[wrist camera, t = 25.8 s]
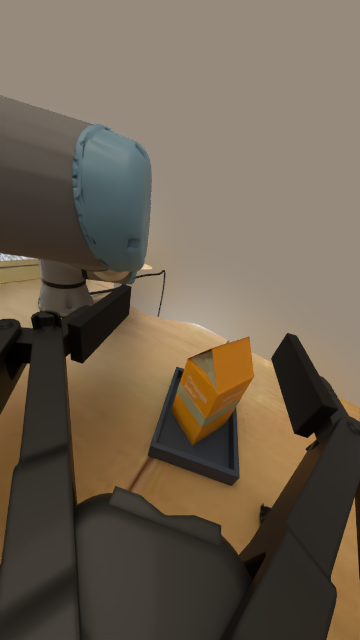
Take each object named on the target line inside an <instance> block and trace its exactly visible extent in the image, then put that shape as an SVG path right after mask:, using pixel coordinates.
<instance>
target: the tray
mask: <svg viewBox="0 0 360 640" xmlns="http://www.w3.org/2000/svg"><path fill="white" fill-rule="evenodd" d="M183 372H184V369H182V368H179V367H176V370H175V373H174V376H173V379H172V382H171V385H170V388H169V391H168V394H167V397H166V400H165V403H164V406H163V409H162V412H161V415H160V418H159V421H158V424H157V427H156V430H155V433H154V436H153V439H152V442H151V445H150V449H149V453H148V455H149V456H151V457H154V458H157V459H160V460H162V461H165V462H168V463H171V464H173V465H176V466H179V467H182V468H184V469H187V470H190V471H193V472H195V473H198V474H201V475H204V476H206V477H209V478H212V479H215V480H217V481H220V482H223V483H226V484H228V485H231V486H232V485H233V484H234V483H235V482H236V481H237V480H238V479H239V458H238V435H237V413H236V407H235V409H234V411H233V412H232V414H231V416H230V417H229V419H228V421H227V422H226V424H225V425H223V426H222V427H220V428H219V429H217V430H216V431H214V432H213V433H211V434H210V435H208V436H207V437H205V438H204V439H202V440H201V441H199V442H198V443H196V444H195V445H193V446H192V445H191V443H190V441H189V440H188V438H187V436H186V435H185V433H184V431H183V430H182V428H181V427H180V425H179V423H178V422H177V420H176V418H175V417H174V415H173V413H172V412H171V409H172V406H173V403H174V400H175V397H176V393H177V389H178V386H179V383H180V381H181V378H182V375H183Z"/></svg>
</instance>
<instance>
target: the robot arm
mask: <svg viewBox="0 0 360 640" xmlns="http://www.w3.org/2000/svg"><path fill="white" fill-rule="evenodd" d="M151 182H152V179H151V164H150V159H149V156H148V154H147V152H146V150H145V149H144V148H143V147H142V146H141V145H140V144H139V143H138V142H136V141H134V140H132V139H129V138H126V137H124V136H121V135H119V134H116V133H114V132H113V131H112V130H111V129H110V128H108V127H106V126H104V125H100V124H96V125H93V124H90V123H87V122H83V121H81V120H77V119H74V118H71V117H68V116H65V115H61V114H58V113H55V112H52V111H49V110H45V109H42V108H39V107H36V106H32V105H29V104H26V103H23V102H19V101H16V100H13V99H10V98H7V97H3V96H0V253H2V254H9V255H16V256H22V257H29V258H36V259H38V260H39V266H40V272H41V277H42V288H41V292H40V297H39V300H38V304H39V308H40V310H41V311H40V312H37V313H35V314H33V315H32V317H31V321H32V325H33V328H22V327H21V325H20V322H19V321H17V320H15V319H2V320H0V414H1V412H2V410H3V408H4V407H5V405H6V403H7V401H8V399H9V397H10V395H11V393H12V391H13V389H14V387H15V385H16V384H17V382H18V380H19V378H20V376H21V374H22V372H23V370H24V368H25V366H26V364H27V363H29V364H30V369H29V378H28V387H27V396H26V405H25V414H24V424H23V433H22V442H21V451H20V459H19V463H18V464H17V465H16V466H15V468H14V471H13V476H12V483H11V491H10V499H9V506H8V514H7V522H6V530H5V538H4V546H3V554H2V562H1V565H0V640H326V638H327V635H328V631H329V627H330V623H331V620H332V616H333V612H334V608H335V604H336V598H337V592H336V587H335V586H334V585H333V583H332V582H331V573H332V570H333V566H334V563H335V560H336V557H337V553H338V550H339V547H340V543H341V540H342V537H343V534H344V530H345V527H346V524H347V520H348V517H349V514H350V510H351V507H352V504H353V501H354V497H355V508H356V525H357V543H358V560H359V578H360V422H359V421H357V420H356V419H354V418H352V417H350V416H349V415H348V414H347V412H346V410H345V409H344V407H343V405H342V404H341V402H340V400H339V399H338V398H337V395H336V394H335V392H334V390H333V389H332V387H331V385H330V384H329V383H328V382H327V381H326V380H325V379H324V378H323V377H321V376H319V374H318V372H317V370H316V369H315V367H314V365H313V363H312V362H311V360H310V358H309V356H308V355H307V353H306V351H305V349H304V348H303V346H302V344H301V342H300V341H299V339H298V337H297V336H296V335H292V334H289V333H287V334H286V336H285V337H284V339H283V340H282V342H281V344H280V345H279V347H278V348H277V350H276V351H275V353H274V355H273V356H272V358H271V359H272V363H273V366H274V369H275V372H276V376H277V379H278V382H279V386H280V389H281V392H282V395H283V399H284V402H285V405H286V408H287V412H288V415H289V418H290V421H291V425H292V428H293V431H294V434H297V435H300V436H303V437H306V438H308V437H309V436H310V435H311V434H313V433H315V436H316V438H317V439H316V440H315V441H314V442H313V443H312V444H311V445H309V446H308V447H307V448H306V450H307V453H306V454H305V456H304V457H303V459H302V461H301V462H300V464H299V465H298V467H297V469H296V470H295V472H294V473H293V475H292V477H291V478H290V480H289V481H288V483H287V485H286V486H285V488H284V489H283V491H282V492H281V494H280V496H279V497H278V499H277V500H276V502H275V504H274V505H273V507H272V508H271V510H270V512H269V513H268V515H267V516H266V518H265V520H264V521H263V523H262V524H261V526H260V527H259V529H258V531H257V532H256V534H255V535H254V537H253V539H252V540H251V542H250V543H249V544H248V545H247V546H246V547H245V548H244V549H243V551H242V552H241V553H240V554H239V555H238V554H237V552H236V551H235V549H234V548H233V547H232V546H231V544H230V543H229V542H228V541H227V540H226V539H225V538H224V537H223V536H222V535H221V525H219V524H216V523H214V522H211V521H208V520H205V519H203V518H200V517H197V516H195V515H173V516H168V515H164V514H163V513H162V512H160V511H159V510H158V509H157V508H155V507H154V506H153V505H152V504H151V503H149V502H148V501H147V500H146V499H144V498H143V497H142V496H141V495H138V494H135V493H133V492H130V491H127V490H125V489H122V488H119V487H117V486H115V488H114V491H113V493H106V494H100V495H97V496H93V497H91V498H89V499H87V500H85V501H83V502H81V503H80V504H78V505H77V496H76V485H75V475H74V462H73V448H72V435H71V421H70V408H69V394H68V381H67V367H66V356H67V355H69V354H71V360H73V361H76V362H79V363H82V364H83V363H84V361H85V360H86V359H87V358H88V357H89V356H90V355H91V354H92V353H93V352H94V351H95V350H96V349H97V348H98V347H99V346H100V345H101V343H102V342H103V341H104V340H105V339H106V338H107V337H108V336H109V335H110V334H111V333H112V332H113V331H114V330H115V329H116V328H117V327H118V326H119V324H120V323H121V322H122V321H123V320H124V319H125V318H126V317H127V316H128V315H129V308H130V297H131V287H130V286H127V285H126V284H132V283H134V281H135V279H136V278H139V277H143V276H151V275H160V274H162V273H163V272H164V281H163V290H162V296H161V301H160V307H159V312H158V317H159V313H160V308H161V303H162V298H163V292H164V285H165V274H166V273H165V270H163V271H162V272H160V273H158V274H146V275H141V276H136V274H137V271H139V270H140V269H141V268H142V267H143V265H144V259H145V256H146V251H147V242H148V234H149V223H150V208H151V207H150V205H151V200H150V198H151ZM86 279H88V280H97V281H104V282H112V283H120V284H123V285H121V286H120V287H117V288H114V289H109V290H103V291H97V292H91V293H89V290H88V288H87V285H86ZM110 291H113V292H111V293H110V294H108V295H107V296H105V297H104V298H103V299H101V300H100V301H98V302H97V303H95V304H94V305H93V301H92V297H91V296H90V295H93V294H99V293H104V292H110ZM61 317H64V318H62V319H61Z"/></svg>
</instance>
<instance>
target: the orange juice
mask: <svg viewBox="0 0 360 640" xmlns="http://www.w3.org/2000/svg"><path fill="white" fill-rule="evenodd" d="M253 378H254V373H253V364H252V356H251V347H250V339H249V337H247V338H243V339H240V340H237V341H234V342H231V343H227V344H224V345H221V346H218V347H215V348H212V349H209V350H207V351H205V352H202V353H200V354H198V355H195V356H193V357H190V358H189V359H187V362H186V365H185V369H184V372H183V375H182V378H181V381H180V383H179V386H178V389H177V393H176V397H175V400H174V403H173V406H172V409H171V412H172V413H173V415H174V417H175V418H176V420H177V422H178V423H179V425H180V427H181V428H182V430H183V431H184V433H185V435H186V436H187V438H188V440H189V441H190V443H191V445H192V446H193V445H195V444H196V443H198V442H199V441H201V440H202V439H204V438H205V437H207V436H208V435H210V434H211V433H213V432H214V431H216V430H217V429H219V428H220V427H222V426H223V425H225V424H226V422H227V421H228V419H229V417H230V416H231V414H232V412H233V411H234V409H235V407H236V406H237V404H238V403H239V401H240V399H241V397H242V396H243V394H244V392H245V391H246V389H247V387H248V386H249V384H250V382H251V381H252V379H253Z"/></svg>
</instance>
